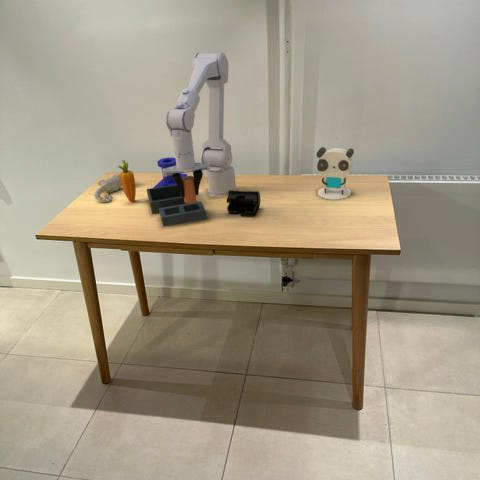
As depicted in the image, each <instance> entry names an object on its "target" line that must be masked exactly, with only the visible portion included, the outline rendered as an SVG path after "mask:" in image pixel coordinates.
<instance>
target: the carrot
mask: <svg viewBox="0 0 480 480" xmlns="http://www.w3.org/2000/svg"><path fill="white" fill-rule="evenodd" d="M121 162H122V164H123V165H117V168H119V169H121V170H122V171H121V172H120V173H119V174H120V180H121V184H122V185H121V187H122V190H123V192H124V195H125V197H126V199H127V200H128V201H129V202H130V203H135V200H136V194H137V192H136V182H135V180H136V179H135V175H134V174H135V173H134V172H133V171H132V170H129V162H127V161H126V160H125V159H122V160H121ZM134 179H135V180H134Z"/></svg>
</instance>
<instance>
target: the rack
mask: <svg viewBox="0 0 480 480" xmlns="http://www.w3.org/2000/svg"><path fill="white" fill-rule="evenodd" d="M158 214H159V217H160V221H161V224H162V227H169V226H173V225H179V224H185V223H191V222H197V221H203V220H207V210H206V209H205V206H204V204H203V202H202V201H201V200H200V201H196V202H195V203H187V204H181V205H175V206H169V207H163V208H159V213H158Z"/></svg>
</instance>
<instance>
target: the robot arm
mask: <svg viewBox="0 0 480 480" xmlns="http://www.w3.org/2000/svg"><path fill="white" fill-rule="evenodd" d="M191 67H192V74H191V77H190V79H189V82H188V86H187V87H185V88H183V89H181V91H180V94H179V96H178V99H177V101H176V103H175V105H174V106H173V108H171V109H170V110H168V112H167V113H166V117H165V118H166V121H165V124H166V128H167V129H168V130H169V135H170V137H171V138H172V143H173V152H174V158H176V166H172V167H168V168H164V169H161V172H162V171H163V175H162V177H163V176H164V177H167V176H168V175H172V176H173V179H174V180H175V182H176V183H177V185H178V187H179V189H180V192H181V196H182V197H184V192H183V186H182V178H181V175H180V174H189V173H190V174H191V173H192V176H193V177H194V181H195V189H196V196H199V194H200V193H199V191H200V185H201V182H202V179H203V177H204V173H203V171H206V173H207V174H206V175H207V182H208V183H207V184H208V188H206V191H207V193H208V195H209V196H210V198H214V197H221V196H229V195H228V191H229V190H236V191H237V183H236V173H235V169H234V166H233V165H232V163H233V154H232V145H231V144H230V143H229V142H228V141H227V140H226V139H225V138H224V122H225V121H224V120H225V119H224V117H225V114H224V113H225V111H224V110H225V84H227V83H228V82H229V60H228V57H227V56H226V53H225V52H195V54H194V55H193V58H192V60H191ZM205 84H206V86H207V87H208V138H207V139H206V140H205V141H204V142H203V143H202V144H201V151H200V157H199V158H200V162H196V159H195V151H194V143H193V134H192V130H193V128H194V124H195V117H196V115H195V112H196V111H197V108H198V105H199V103H200V100H201V97H200V92H201V90H202V89H203V87H204V86H205Z"/></svg>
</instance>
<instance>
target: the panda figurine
mask: <svg viewBox="0 0 480 480" xmlns="http://www.w3.org/2000/svg"><path fill="white" fill-rule="evenodd" d="M354 153H355V150H354V148H348V149H344V148H340V147H333V148H329V149H327V148H326V147H324V146H322V147H319V149H318V150H317V152H316V154H315V156H316V157H317V158H318V161H317V164H316V169H317V171H318V173H319V175H320V176H321V177H322V179H321V183H322V184H323V187H320V188H319V189H318V190H317V195H318V196H319V197H320V198H322V199H324V200H325V199H326V200H332V201H333V200H334V201H335V200H336V201H338V200H344V199H346V198H349V197H350V196H351V195H352V191H351V189H350V188H348V187H346V186H347V185H346V184H347V176H348V175H349V174H350V172H351V170H352V168H353V157H352V156H353V155H354Z"/></svg>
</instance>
